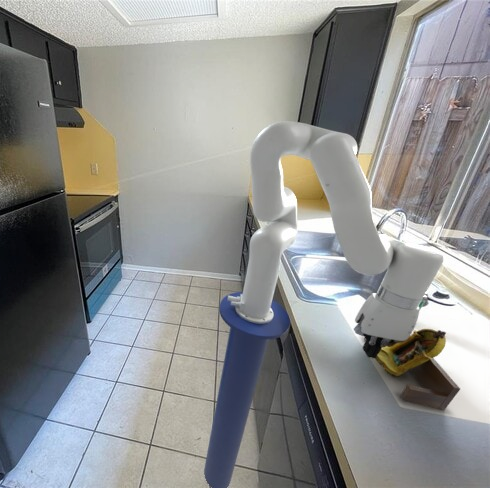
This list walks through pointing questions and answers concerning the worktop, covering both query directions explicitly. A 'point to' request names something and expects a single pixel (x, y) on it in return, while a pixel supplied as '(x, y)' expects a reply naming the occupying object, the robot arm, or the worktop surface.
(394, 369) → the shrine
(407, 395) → the shoe rack
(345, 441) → the worktop surface
